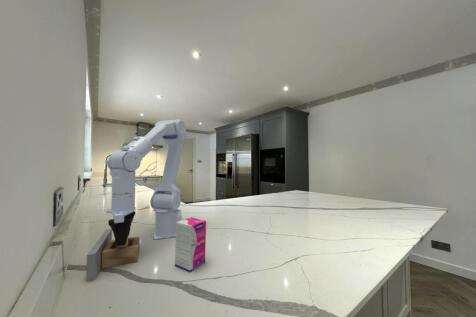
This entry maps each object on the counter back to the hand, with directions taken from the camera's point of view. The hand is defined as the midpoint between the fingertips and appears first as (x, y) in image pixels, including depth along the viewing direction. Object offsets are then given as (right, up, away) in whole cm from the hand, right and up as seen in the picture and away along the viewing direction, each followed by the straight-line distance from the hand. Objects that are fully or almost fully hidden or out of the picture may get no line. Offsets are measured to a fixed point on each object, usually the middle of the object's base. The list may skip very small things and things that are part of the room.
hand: (122, 241), depth 53 cm
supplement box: (+20, -5, -3) cm, 21 cm away
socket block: (0, -5, 0) cm, 5 cm away
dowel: (0, -5, 0) cm, 5 cm away
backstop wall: (-5, -5, -2) cm, 7 cm away
